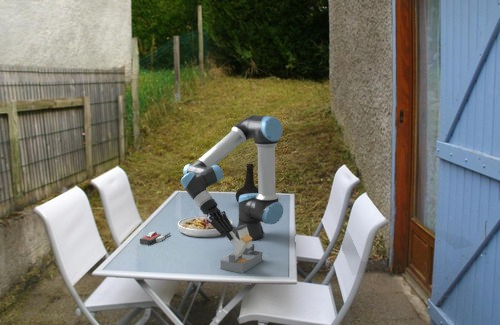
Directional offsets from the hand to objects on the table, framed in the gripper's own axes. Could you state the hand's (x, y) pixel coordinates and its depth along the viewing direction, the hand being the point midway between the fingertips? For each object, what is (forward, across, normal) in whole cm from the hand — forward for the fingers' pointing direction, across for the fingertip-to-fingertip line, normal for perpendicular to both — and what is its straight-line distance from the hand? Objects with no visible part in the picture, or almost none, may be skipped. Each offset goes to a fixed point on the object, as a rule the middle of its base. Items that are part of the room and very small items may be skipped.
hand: (237, 245), depth 231 cm
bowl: (-24, -44, -40) cm, 65 cm away
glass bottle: (-30, -110, -45) cm, 122 cm away
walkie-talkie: (-33, -17, -50) cm, 62 cm away
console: (+7, -6, -9) cm, 13 cm away
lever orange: (+3, 0, -5) cm, 6 cm away
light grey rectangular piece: (+3, -12, -5) cm, 14 cm away
